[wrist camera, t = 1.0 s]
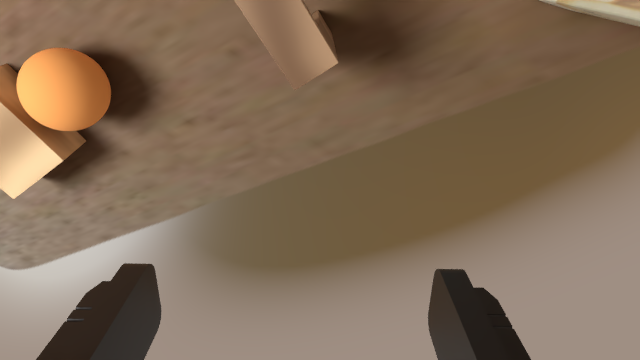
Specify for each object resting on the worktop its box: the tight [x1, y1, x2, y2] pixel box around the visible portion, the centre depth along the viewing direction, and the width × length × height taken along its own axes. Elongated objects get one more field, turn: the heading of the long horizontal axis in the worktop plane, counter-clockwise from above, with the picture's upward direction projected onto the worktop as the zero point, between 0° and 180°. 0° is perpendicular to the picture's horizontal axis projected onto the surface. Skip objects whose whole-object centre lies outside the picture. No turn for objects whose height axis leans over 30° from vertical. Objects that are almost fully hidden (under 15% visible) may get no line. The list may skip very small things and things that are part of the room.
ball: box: [16, 48, 111, 131], centre depth 32 cm, size 6×6×6 cm
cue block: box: [0, 64, 86, 199], centre depth 35 cm, size 8×6×4 cm
